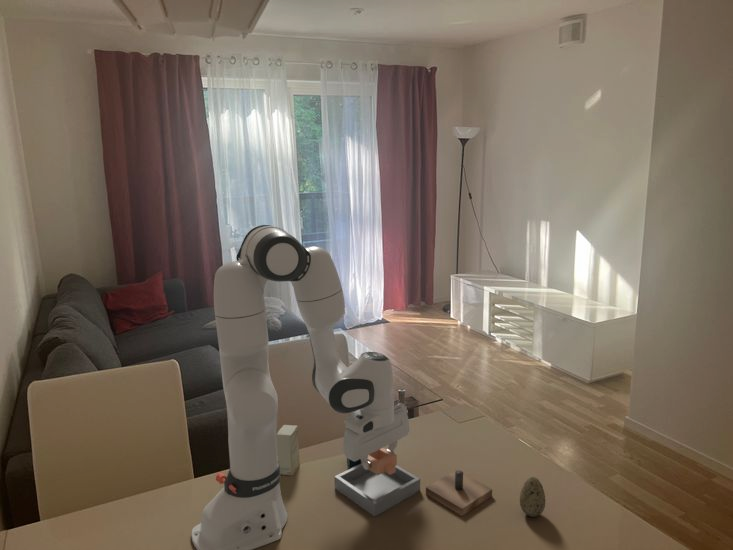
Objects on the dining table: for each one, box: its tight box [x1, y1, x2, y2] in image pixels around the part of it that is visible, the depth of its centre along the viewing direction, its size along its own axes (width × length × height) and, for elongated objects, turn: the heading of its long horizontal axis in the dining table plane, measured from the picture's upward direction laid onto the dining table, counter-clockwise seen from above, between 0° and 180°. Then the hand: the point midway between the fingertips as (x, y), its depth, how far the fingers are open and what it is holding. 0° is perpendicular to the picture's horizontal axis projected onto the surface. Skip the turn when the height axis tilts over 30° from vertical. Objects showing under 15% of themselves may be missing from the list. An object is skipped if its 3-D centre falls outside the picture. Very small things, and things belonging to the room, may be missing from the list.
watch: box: [346, 457, 361, 470], centre depth 154 cm, size 6×8×11 cm
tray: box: [334, 464, 421, 518], centre depth 142 cm, size 16×16×4 cm
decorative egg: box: [519, 476, 546, 518], centre depth 131 cm, size 6×6×10 cm
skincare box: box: [276, 424, 301, 476], centre depth 152 cm, size 6×4×12 cm
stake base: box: [425, 469, 493, 517], centre depth 139 cm, size 12×12×6 cm
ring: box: [361, 447, 398, 475], centre depth 141 cm, size 7×9×3 cm
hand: (378, 462), depth 141 cm, fingers closed on ring, 7 cm apart
